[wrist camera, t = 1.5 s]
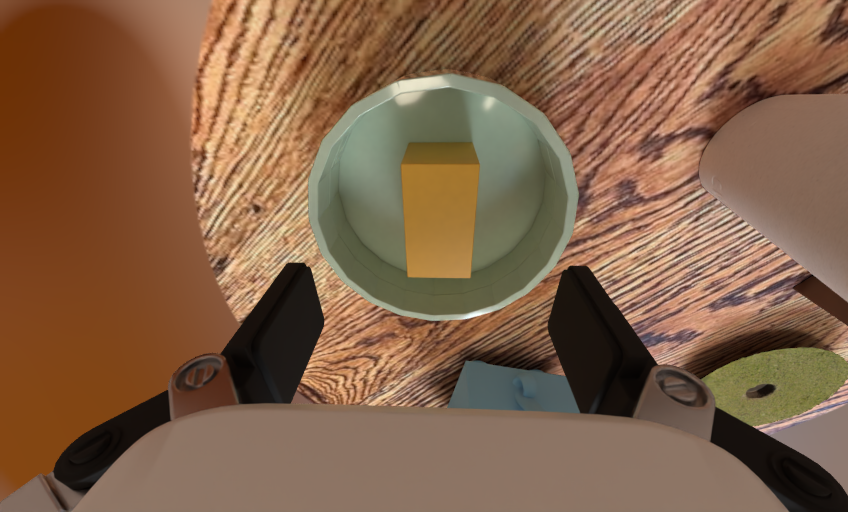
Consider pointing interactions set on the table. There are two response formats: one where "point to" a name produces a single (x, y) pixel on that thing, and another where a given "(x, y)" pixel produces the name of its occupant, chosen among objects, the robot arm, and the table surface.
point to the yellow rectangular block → (439, 208)
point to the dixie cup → (789, 178)
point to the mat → (777, 383)
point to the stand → (824, 298)
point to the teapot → (511, 389)
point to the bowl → (496, 202)
